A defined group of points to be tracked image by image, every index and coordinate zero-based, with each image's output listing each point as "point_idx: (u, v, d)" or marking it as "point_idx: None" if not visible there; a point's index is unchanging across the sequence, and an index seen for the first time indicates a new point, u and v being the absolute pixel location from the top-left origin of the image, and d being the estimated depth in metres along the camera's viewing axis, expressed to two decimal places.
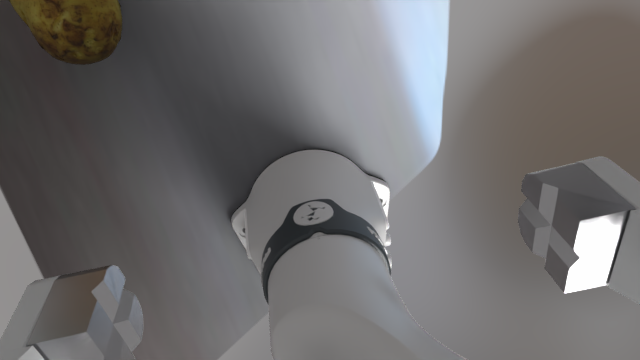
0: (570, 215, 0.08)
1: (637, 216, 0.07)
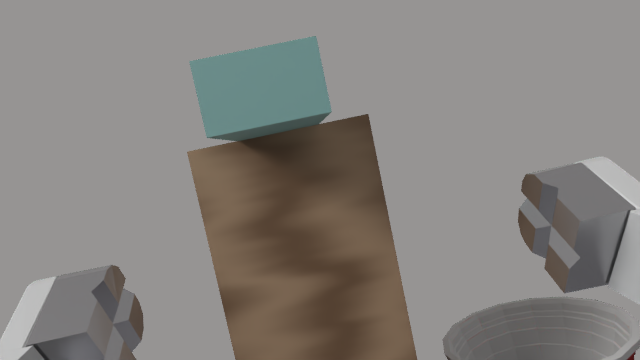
0: (570, 215, 0.08)
1: (637, 216, 0.07)
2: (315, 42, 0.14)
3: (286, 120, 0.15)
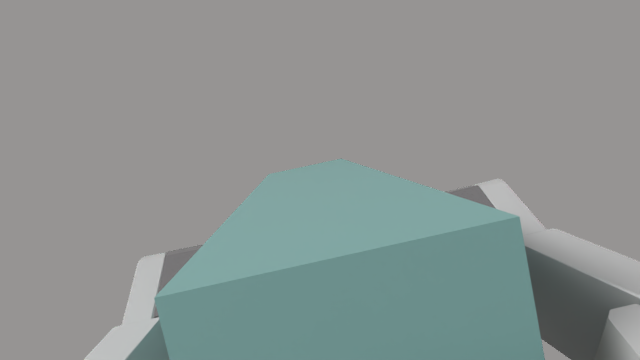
0: None
1: None
2: (518, 234, 0.05)
3: None
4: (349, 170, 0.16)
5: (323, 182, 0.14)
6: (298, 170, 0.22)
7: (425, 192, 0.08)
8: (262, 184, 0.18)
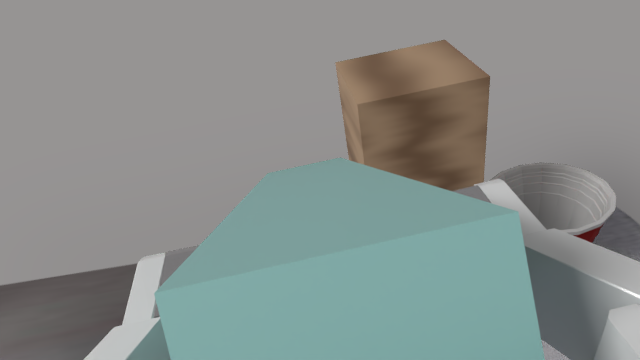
0: None
1: None
2: (516, 229, 0.05)
3: None
4: (348, 168, 0.16)
5: (322, 180, 0.14)
6: (297, 169, 0.22)
7: (424, 189, 0.08)
8: (261, 183, 0.18)
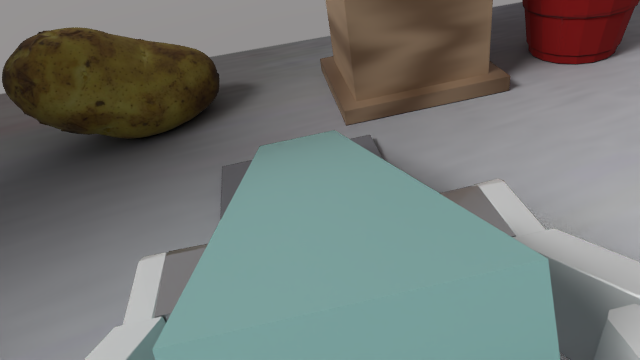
0: None
1: None
2: (545, 277, 0.05)
3: None
4: (345, 151, 0.15)
5: (319, 168, 0.13)
6: (290, 143, 0.22)
7: (434, 200, 0.07)
8: (254, 162, 0.18)
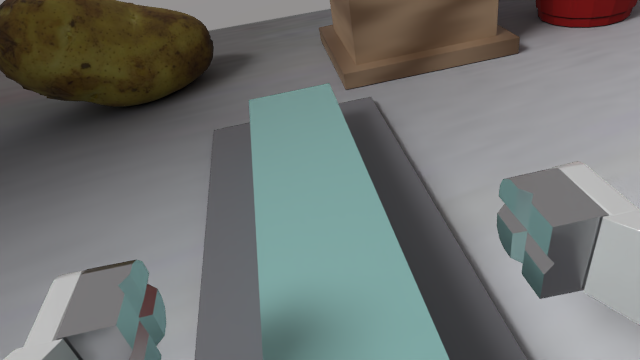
0: (544, 221, 0.08)
1: (609, 222, 0.07)
2: None
3: None
4: (356, 191, 0.15)
5: (337, 245, 0.13)
6: (285, 115, 0.20)
7: None
8: (257, 174, 0.17)
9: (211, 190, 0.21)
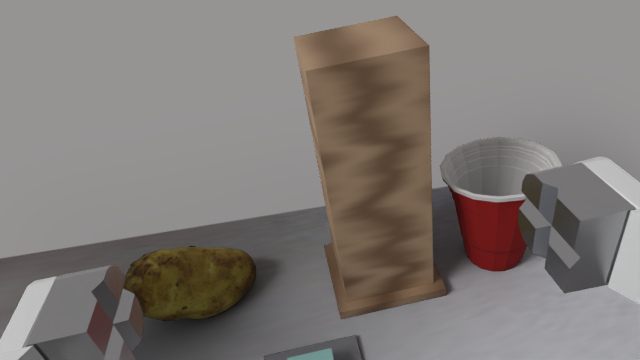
0: (570, 215, 0.08)
1: (637, 216, 0.07)
2: None
3: None
4: None
5: None
6: None
7: None
8: None
9: None
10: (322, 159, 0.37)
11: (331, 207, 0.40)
